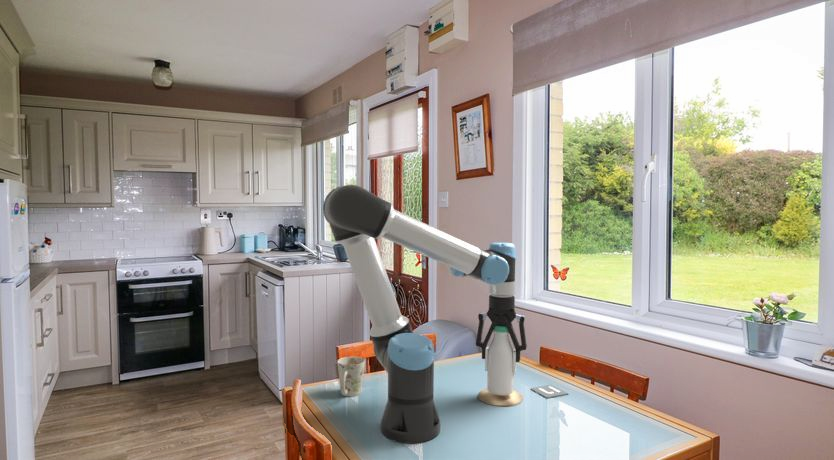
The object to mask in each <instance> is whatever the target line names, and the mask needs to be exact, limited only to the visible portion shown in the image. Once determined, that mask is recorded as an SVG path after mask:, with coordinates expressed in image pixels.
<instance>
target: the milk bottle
mask: <svg viewBox="0 0 834 460" xmlns="http://www.w3.org/2000/svg"><path fill="white" fill-rule="evenodd" d="M492 333H493V338H492V340H491V343H490V345H489V346H488V347H489V351H488V371H487V382H486V383H487V384H486V385H487V386H486V387H487V388H486V389H488V391H489V392H490V393H492V394H495V395H509V394H511V393H512V392H513V390H514V381H515V380H514V379H515V377H514V375H515V374H513V351H514V349H513V345H512V343H511V341H510V336H509V331H508V329H507V327H506V326H495V327H494V330H493V332H492Z"/></svg>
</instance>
